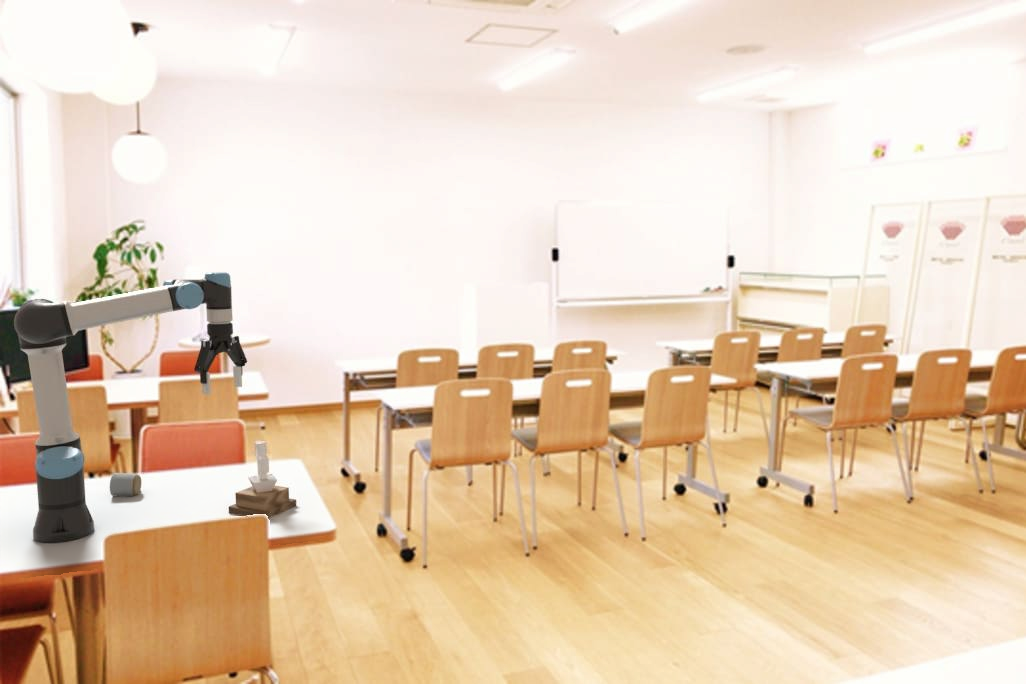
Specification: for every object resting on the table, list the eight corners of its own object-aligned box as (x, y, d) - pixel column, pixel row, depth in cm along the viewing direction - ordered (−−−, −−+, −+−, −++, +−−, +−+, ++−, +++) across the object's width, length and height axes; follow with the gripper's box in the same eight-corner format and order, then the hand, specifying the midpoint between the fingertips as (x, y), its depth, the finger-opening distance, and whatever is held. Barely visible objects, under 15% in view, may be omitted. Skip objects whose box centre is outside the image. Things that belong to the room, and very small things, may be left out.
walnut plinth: (265, 519, 251) (264, 499, 251) (228, 513, 257) (228, 493, 256) (296, 505, 264) (295, 487, 263) (260, 499, 270) (260, 481, 269)
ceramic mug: (135, 498, 271) (134, 475, 270) (109, 499, 270) (108, 476, 269) (146, 489, 281) (145, 467, 280) (121, 489, 280) (120, 467, 280)
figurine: (254, 495, 254) (252, 446, 252) (247, 487, 262) (245, 439, 261) (278, 492, 258) (277, 443, 256) (271, 484, 266) (269, 437, 264)
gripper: (238, 318, 277) (241, 382, 280) (179, 325, 255) (182, 396, 258) (257, 319, 274) (259, 384, 277) (198, 327, 252) (201, 398, 254)
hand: (222, 390), depth 267 cm, fingers open, 13 cm apart
